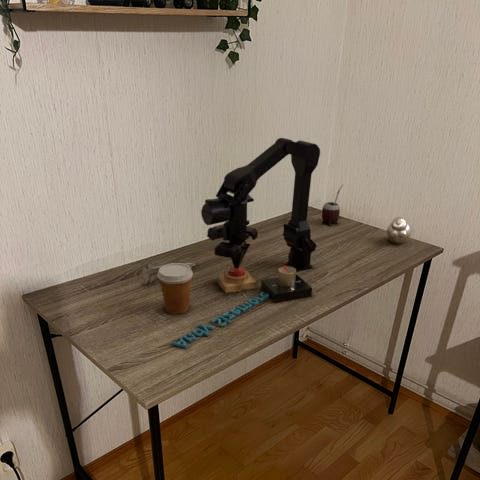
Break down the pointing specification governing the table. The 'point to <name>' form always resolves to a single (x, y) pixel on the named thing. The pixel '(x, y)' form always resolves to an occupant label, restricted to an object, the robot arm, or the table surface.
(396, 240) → the silver spiral shell
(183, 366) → the table surface
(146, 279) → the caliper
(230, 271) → the button
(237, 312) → the nameplate
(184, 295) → the disposable coffee cup
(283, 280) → the knob
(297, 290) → the dial console
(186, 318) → the table surface
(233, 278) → the button block
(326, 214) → the mate gourd
